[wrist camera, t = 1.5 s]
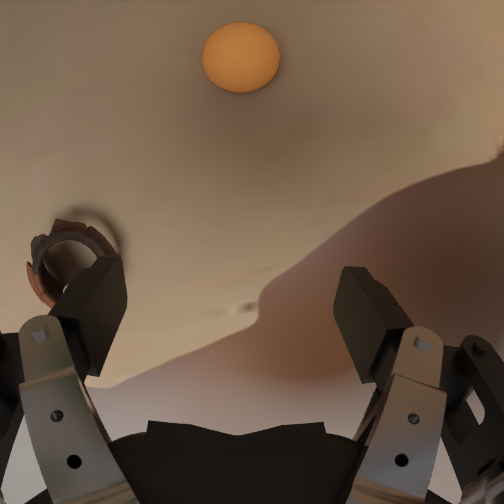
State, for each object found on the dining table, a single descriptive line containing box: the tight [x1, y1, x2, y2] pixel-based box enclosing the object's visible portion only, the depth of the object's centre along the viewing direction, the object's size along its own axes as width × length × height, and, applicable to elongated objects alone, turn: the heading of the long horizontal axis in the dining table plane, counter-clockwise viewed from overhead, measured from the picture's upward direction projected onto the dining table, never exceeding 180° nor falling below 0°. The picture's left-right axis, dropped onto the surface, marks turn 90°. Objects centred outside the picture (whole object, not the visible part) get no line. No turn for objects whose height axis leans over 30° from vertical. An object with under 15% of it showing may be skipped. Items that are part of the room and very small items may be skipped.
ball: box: [202, 22, 280, 92], centre depth 18 cm, size 6×6×6 cm
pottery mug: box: [27, 219, 116, 309], centre depth 25 cm, size 12×10×8 cm
